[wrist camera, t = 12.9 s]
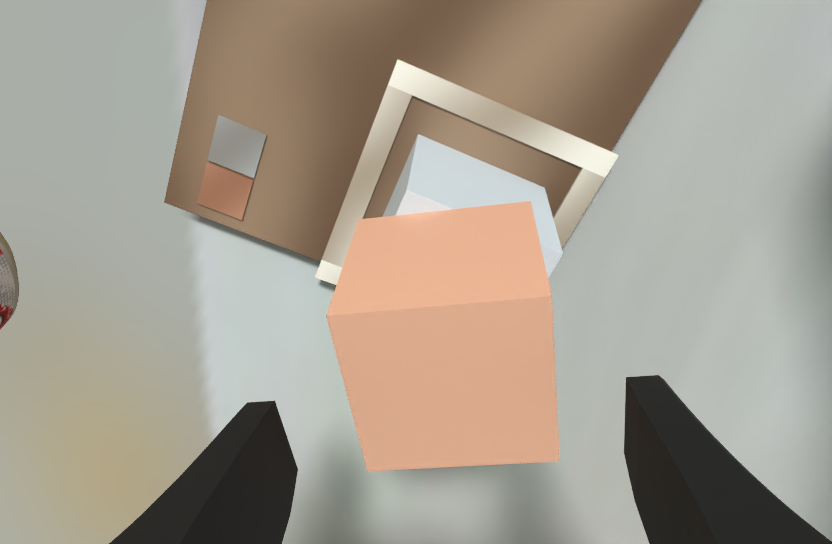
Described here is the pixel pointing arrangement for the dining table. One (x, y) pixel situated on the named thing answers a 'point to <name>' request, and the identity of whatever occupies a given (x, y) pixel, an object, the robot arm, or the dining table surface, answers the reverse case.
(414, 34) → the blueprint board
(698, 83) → the dining table surface
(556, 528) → the dining table surface
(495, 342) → the terracotta block
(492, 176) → the grey blue block
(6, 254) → the soda can
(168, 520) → the robot arm
